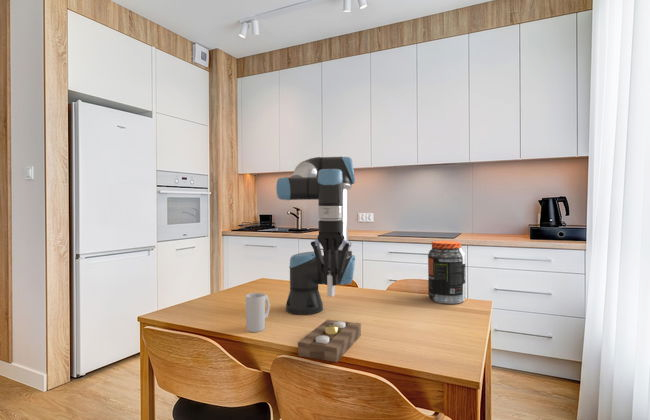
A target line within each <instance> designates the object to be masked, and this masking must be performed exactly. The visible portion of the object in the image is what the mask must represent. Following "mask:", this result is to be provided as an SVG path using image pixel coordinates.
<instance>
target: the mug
mask: <svg viewBox="0 0 650 420" xmlns="http://www.w3.org/2000/svg"><path fill="white" fill-rule="evenodd" d="M270 307H271V305H270V299H269V295H268V294H265V293H263V292H252V293H248V294H245V317H246V318H245V320H246V321H245V322H246V331H247V332H250V333H260V332H263V331H265V329H266V328H265V327H266V319H267V318H268V317H269V314H270V309H271V308H270Z"/></svg>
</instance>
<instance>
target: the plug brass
mask: <svg viewBox="0 0 650 420" xmlns="http://www.w3.org/2000/svg"><path fill="white" fill-rule="evenodd" d="M325 334H328V335H335V336H336V335H337V334H338V326H337V325H326V326H325Z"/></svg>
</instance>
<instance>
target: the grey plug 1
mask: <svg viewBox="0 0 650 420" xmlns="http://www.w3.org/2000/svg"><path fill="white" fill-rule="evenodd" d="M316 342H318V343H324V344H327V343H328V342H329V337H328V336H324V335H321V336H317V337H316Z"/></svg>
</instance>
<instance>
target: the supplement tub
mask: <svg viewBox="0 0 650 420" xmlns="http://www.w3.org/2000/svg"><path fill="white" fill-rule="evenodd" d="M427 260H428V261H427V267H428V268H427V269H428V271H427V273H428V275H427V276H428V278H427V279H428V282H427V283H428V286H427V287H428V298H429V299H430V300H431V301H433V302H435V303H440V304H451V305H453V304H461V303H464V302H465V301H466V294H467V293H466V290H467V289H466V254H465V252H464V251H463V248H462V242H461V241H459V240H457V241H455V240H435V241H434V240H433V241H432V242H431V249H430V250H429V252H428V255H427Z"/></svg>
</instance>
